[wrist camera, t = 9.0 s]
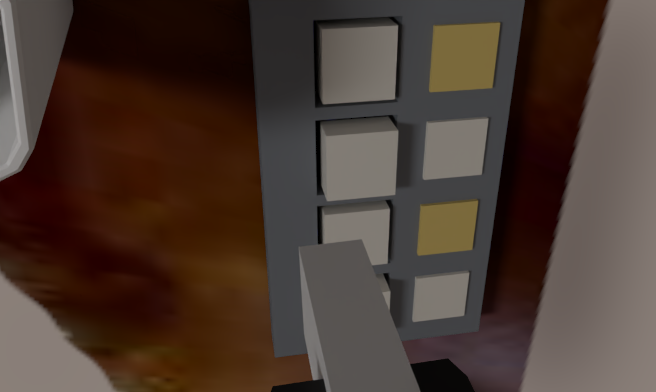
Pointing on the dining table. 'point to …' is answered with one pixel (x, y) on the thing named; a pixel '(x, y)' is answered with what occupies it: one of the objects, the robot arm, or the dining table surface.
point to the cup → (27, 72)
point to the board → (412, 154)
